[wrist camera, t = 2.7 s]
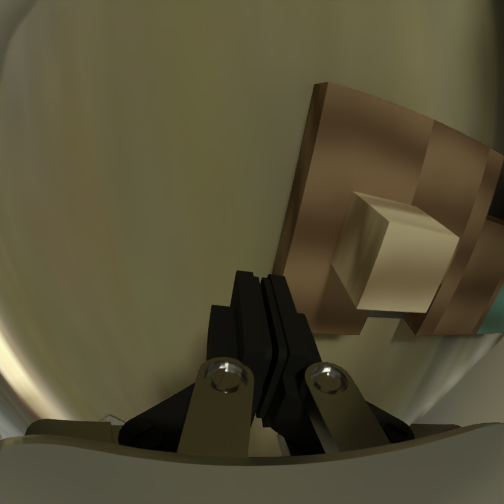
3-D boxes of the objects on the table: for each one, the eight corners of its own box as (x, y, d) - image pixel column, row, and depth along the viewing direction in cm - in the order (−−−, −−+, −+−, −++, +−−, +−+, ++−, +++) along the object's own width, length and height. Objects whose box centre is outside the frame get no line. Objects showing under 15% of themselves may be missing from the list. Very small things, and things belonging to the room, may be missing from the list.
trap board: (314, 84, 18) (328, 81, 15) (547, 188, 22) (565, 197, 19) (264, 305, 25) (268, 330, 23) (493, 317, 29) (506, 332, 27)
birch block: (352, 191, 18) (389, 221, 14) (416, 206, 19) (459, 237, 15) (331, 263, 20) (356, 308, 16) (392, 271, 21) (425, 312, 17)
